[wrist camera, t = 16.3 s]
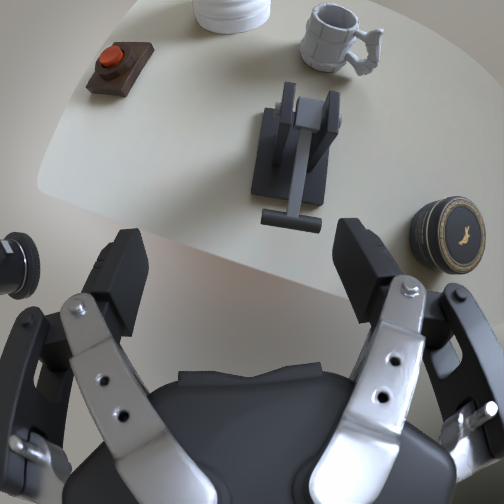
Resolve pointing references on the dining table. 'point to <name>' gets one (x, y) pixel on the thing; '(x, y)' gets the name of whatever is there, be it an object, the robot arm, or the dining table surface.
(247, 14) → the honey pot
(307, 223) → the switch lever
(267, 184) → the dark stand
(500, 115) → the dining table surface
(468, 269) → the jar
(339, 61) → the mug
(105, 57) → the button
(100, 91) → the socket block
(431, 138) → the dining table surface
